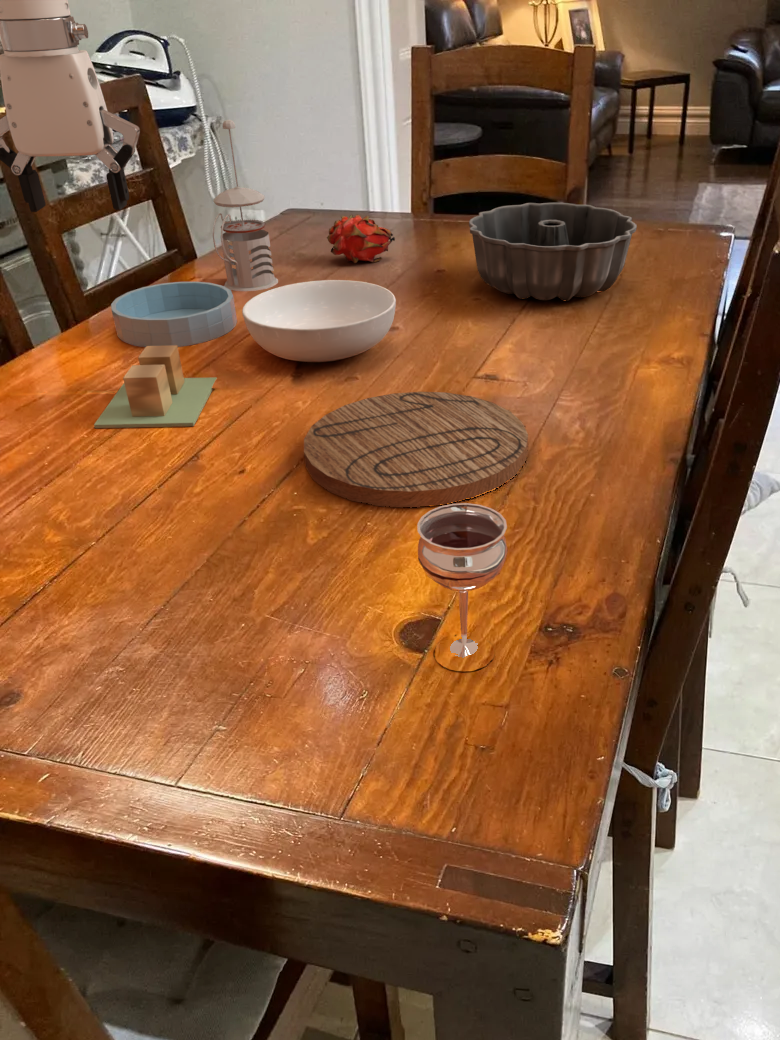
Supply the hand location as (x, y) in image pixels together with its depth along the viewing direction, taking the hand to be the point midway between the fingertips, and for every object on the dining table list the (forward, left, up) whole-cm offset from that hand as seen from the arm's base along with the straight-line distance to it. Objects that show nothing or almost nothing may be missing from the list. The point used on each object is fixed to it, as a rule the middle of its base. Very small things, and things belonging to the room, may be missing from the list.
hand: (79, 208), depth 109 cm
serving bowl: (+25, +12, -22) cm, 36 cm away
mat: (+6, -5, -22) cm, 24 cm away
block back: (+6, -1, -22) cm, 23 cm away
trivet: (+39, -20, -22) cm, 49 cm away
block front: (+6, -8, -22) cm, 24 cm away
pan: (+2, +22, -22) cm, 31 cm away
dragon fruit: (+27, +56, -22) cm, 66 cm away
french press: (+9, +42, -22) cm, 48 cm away
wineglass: (+44, -56, -22) cm, 75 cm away
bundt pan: (+59, +39, -22) cm, 74 cm away
